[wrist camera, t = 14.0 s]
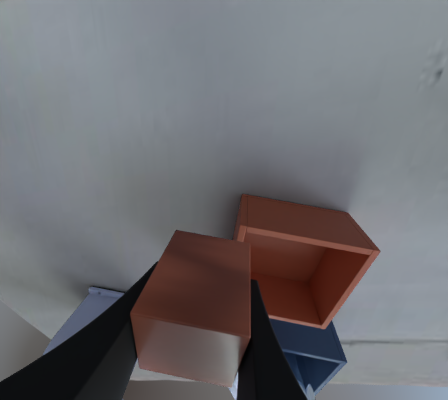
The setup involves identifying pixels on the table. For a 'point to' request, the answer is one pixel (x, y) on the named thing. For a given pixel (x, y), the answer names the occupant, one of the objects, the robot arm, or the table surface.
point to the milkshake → (300, 373)
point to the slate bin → (312, 349)
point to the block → (196, 310)
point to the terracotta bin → (303, 257)
